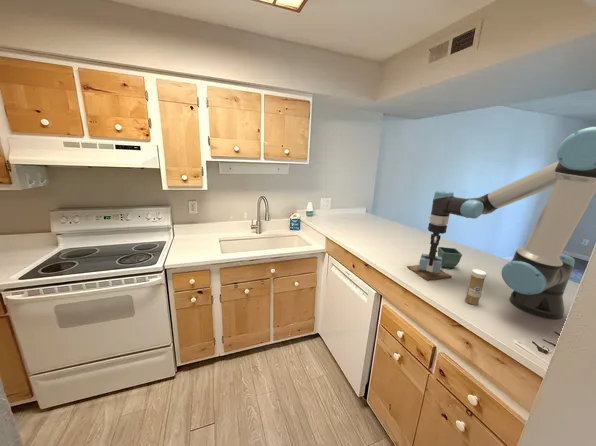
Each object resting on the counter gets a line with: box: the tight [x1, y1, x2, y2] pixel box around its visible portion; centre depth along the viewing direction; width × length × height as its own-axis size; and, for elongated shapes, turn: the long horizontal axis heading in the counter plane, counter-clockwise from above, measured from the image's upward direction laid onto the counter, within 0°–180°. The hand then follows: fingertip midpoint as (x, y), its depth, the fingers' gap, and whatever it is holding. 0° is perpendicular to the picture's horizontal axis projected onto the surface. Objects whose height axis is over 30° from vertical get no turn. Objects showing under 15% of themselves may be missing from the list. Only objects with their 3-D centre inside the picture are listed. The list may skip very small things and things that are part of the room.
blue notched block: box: [418, 253, 442, 273], centre depth 119 cm, size 9×9×5 cm
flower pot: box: [437, 246, 463, 269], centre depth 128 cm, size 9×9×9 cm
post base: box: [407, 253, 453, 282], centre depth 119 cm, size 14×14×10 cm
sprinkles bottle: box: [464, 268, 487, 306], centre depth 95 cm, size 5×5×14 cm
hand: (429, 267), depth 119 cm, fingers closed on blue notched block, 9 cm apart
